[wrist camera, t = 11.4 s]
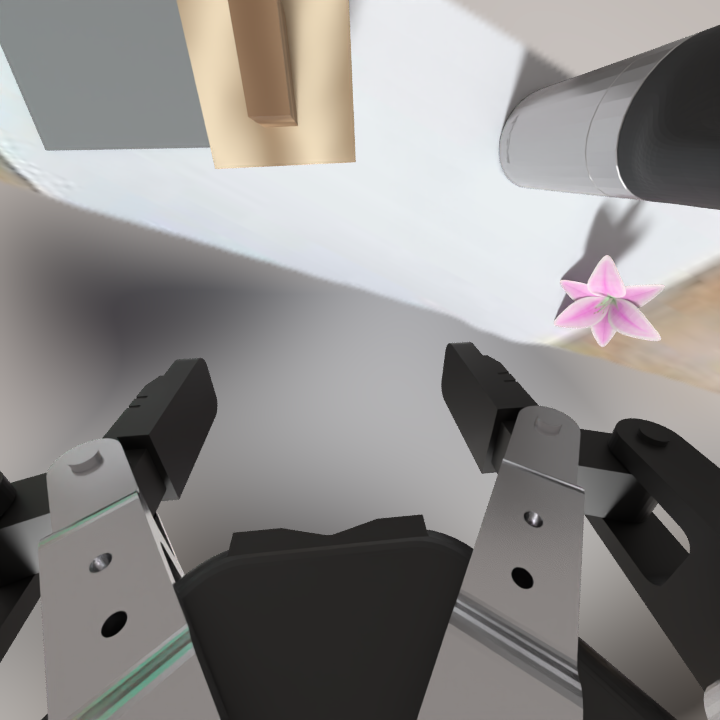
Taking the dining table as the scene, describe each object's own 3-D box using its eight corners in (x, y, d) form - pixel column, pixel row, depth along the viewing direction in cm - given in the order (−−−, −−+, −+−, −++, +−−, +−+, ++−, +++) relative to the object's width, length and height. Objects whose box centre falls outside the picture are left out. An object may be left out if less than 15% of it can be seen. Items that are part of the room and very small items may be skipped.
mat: (196, -57, 27) (194, -61, 26) (233, 146, 34) (232, 146, 34) (-41, -62, 26) (-47, -66, 25) (49, 150, 33) (45, 150, 32)
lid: (346, -34, 22) (353, -112, 16) (354, 162, 27) (362, 160, 21) (173, -31, 21) (112, -111, 15) (218, 168, 27) (187, 169, 21)
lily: (585, 230, 43) (593, 264, 36) (681, 258, 41) (707, 299, 35) (536, 302, 52) (535, 340, 45) (613, 328, 50) (624, 371, 44)
